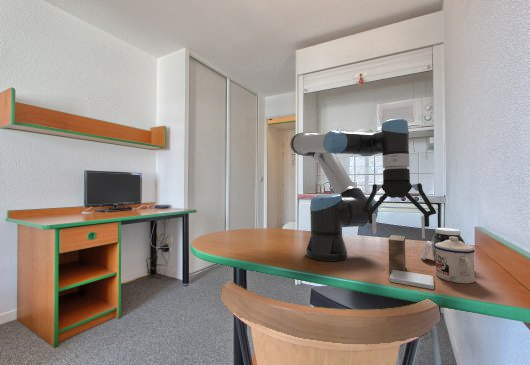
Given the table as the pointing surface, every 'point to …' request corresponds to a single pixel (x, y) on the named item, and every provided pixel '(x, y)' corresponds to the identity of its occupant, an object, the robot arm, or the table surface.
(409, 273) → the grey board
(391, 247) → the walnut slab
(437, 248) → the teacup with lid
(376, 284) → the table surface
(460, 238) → the spread jar
